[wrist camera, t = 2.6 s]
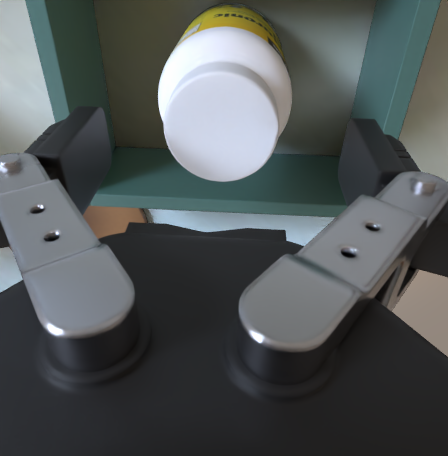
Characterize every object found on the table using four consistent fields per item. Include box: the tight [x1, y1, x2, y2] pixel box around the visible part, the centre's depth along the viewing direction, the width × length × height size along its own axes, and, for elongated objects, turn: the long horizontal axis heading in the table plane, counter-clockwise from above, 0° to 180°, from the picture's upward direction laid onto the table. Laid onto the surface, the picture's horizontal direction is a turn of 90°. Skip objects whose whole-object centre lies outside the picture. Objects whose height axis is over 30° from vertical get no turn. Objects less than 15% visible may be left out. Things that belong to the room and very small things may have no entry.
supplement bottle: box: [158, 3, 292, 182], centre depth 18 cm, size 5×5×10 cm
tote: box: [25, 0, 441, 217], centre depth 19 cm, size 16×13×6 cm
